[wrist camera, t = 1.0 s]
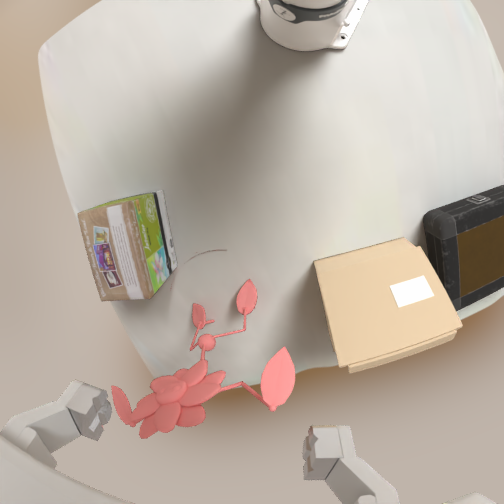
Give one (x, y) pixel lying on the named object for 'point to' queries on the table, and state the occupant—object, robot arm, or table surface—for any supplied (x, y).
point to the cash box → (468, 246)
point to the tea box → (129, 246)
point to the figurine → (203, 382)
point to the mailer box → (359, 260)
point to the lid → (386, 309)
